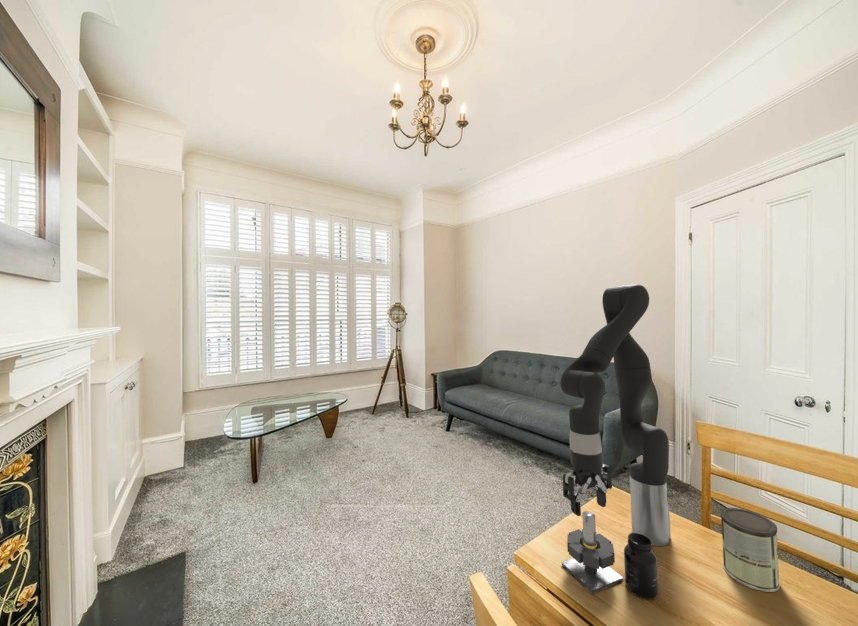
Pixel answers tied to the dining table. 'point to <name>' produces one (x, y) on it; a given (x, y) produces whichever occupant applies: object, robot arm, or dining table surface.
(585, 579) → the metal peg stand
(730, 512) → the coffee can
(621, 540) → the dining table surface
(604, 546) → the ring
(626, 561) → the supplement bottle
